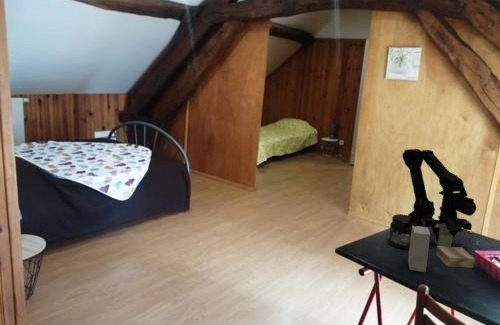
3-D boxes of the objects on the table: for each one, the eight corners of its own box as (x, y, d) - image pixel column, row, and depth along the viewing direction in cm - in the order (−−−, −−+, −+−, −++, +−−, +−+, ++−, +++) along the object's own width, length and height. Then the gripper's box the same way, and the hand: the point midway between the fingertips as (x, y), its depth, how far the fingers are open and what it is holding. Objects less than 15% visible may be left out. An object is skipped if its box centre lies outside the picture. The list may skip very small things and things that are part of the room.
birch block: (446, 267, 152) (448, 257, 151) (435, 255, 162) (437, 246, 161) (473, 268, 152) (475, 259, 151) (460, 256, 162) (462, 247, 161)
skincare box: (425, 272, 146) (431, 235, 143) (408, 269, 148) (413, 232, 144) (423, 262, 154) (429, 226, 150) (406, 259, 156) (412, 224, 152)
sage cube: (438, 246, 168) (440, 235, 167) (434, 241, 173) (436, 230, 172) (451, 247, 168) (453, 236, 166) (446, 242, 172) (447, 231, 171)
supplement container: (399, 237, 176) (403, 212, 173) (419, 247, 167) (423, 220, 164) (382, 241, 171) (385, 215, 169) (401, 252, 162) (405, 224, 160)
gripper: (433, 212, 159) (427, 248, 163) (481, 215, 158) (474, 251, 162) (423, 203, 170) (418, 237, 173) (468, 206, 169) (462, 240, 172)
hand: (442, 241), depth 170 cm, fingers closed on sage cube, 5 cm apart
